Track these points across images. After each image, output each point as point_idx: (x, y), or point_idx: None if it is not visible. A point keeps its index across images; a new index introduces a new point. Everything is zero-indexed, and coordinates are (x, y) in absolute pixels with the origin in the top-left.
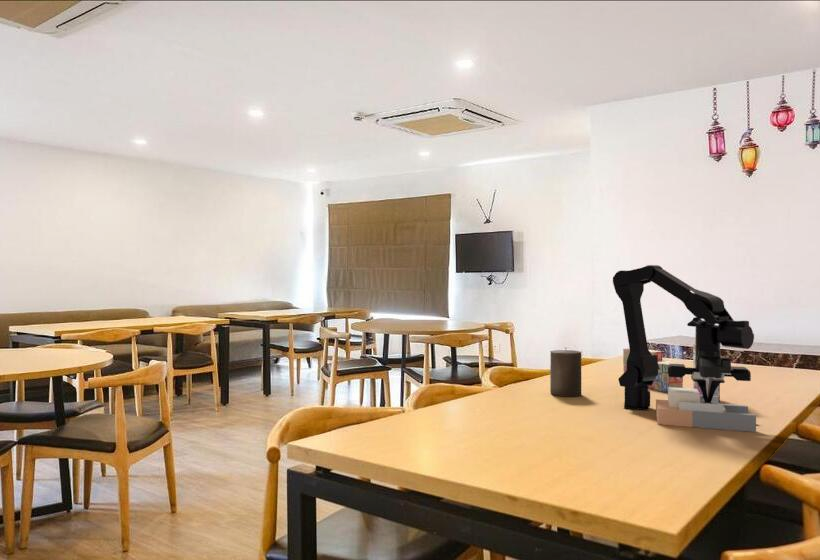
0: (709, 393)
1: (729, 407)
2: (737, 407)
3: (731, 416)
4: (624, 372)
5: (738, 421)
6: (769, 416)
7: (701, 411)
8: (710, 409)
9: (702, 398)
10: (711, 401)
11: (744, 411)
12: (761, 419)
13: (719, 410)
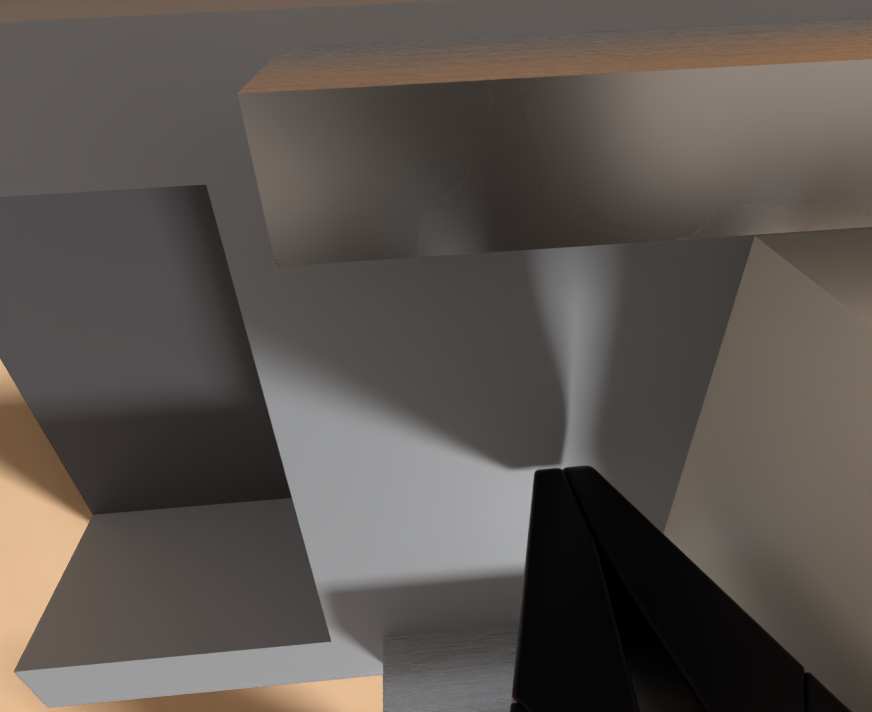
0: (629, 697)
1: (247, 622)
2: (152, 639)
3: (107, 9)
4: None
5: (5, 9)
6: (3, 702)
7: (810, 10)
8: (619, 44)
9: None
10: (464, 667)
11: (87, 603)
12: (24, 620)
13: (381, 53)
